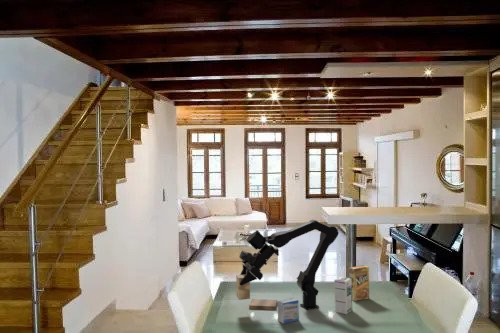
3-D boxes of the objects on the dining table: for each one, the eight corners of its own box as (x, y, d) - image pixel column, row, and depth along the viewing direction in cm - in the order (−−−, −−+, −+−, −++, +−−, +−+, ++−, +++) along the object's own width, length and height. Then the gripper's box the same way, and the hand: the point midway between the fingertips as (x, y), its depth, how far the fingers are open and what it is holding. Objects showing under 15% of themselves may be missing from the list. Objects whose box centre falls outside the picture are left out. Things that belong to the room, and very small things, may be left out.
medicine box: (283, 324, 180) (282, 303, 180) (277, 320, 184) (277, 300, 184) (299, 320, 184) (298, 300, 183) (293, 317, 188) (293, 297, 187)
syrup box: (347, 314, 190) (346, 281, 189) (334, 311, 193) (334, 279, 193) (352, 310, 194) (352, 278, 194) (340, 308, 198) (339, 276, 197)
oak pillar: (247, 295, 196) (247, 274, 196) (250, 298, 192) (249, 277, 191) (236, 296, 195) (236, 275, 195) (238, 299, 191) (238, 278, 190)
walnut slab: (277, 304, 206) (277, 299, 206) (275, 310, 197) (275, 306, 197) (252, 303, 208) (252, 298, 208) (249, 309, 199) (249, 305, 199)
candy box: (354, 301, 206) (354, 269, 206) (349, 298, 210) (348, 266, 210) (369, 298, 210) (369, 266, 209) (364, 296, 214) (363, 264, 213)
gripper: (245, 240, 203) (222, 265, 201) (254, 248, 184) (229, 276, 182) (262, 256, 205) (239, 281, 203) (273, 266, 186) (248, 294, 184)
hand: (239, 283), depth 193 cm, fingers closed on oak pillar, 5 cm apart
